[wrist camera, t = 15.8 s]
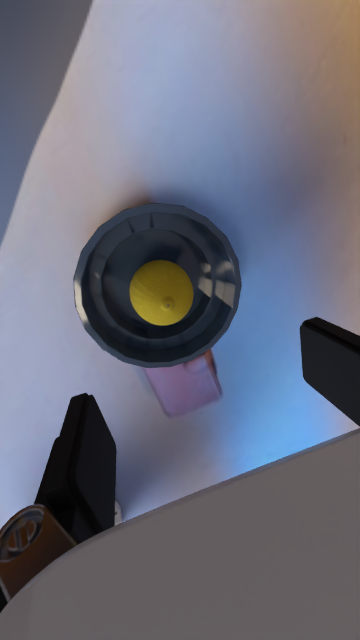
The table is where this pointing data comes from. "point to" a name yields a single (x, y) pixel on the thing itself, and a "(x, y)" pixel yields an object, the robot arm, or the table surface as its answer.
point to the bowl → (133, 252)
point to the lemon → (161, 292)
